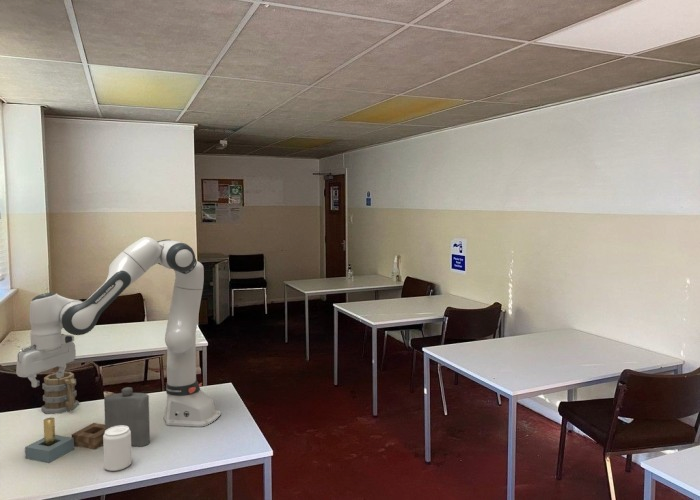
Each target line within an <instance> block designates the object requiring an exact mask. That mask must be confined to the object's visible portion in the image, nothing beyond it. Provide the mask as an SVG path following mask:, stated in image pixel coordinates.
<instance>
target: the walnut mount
mask: <svg viewBox="0 0 700 500" xmlns="http://www.w3.org/2000/svg"><path fill="white" fill-rule="evenodd" d="M104 434H105V423H104V424H102V423H97V422H92V423H91V424H89V425H87V426H85V427H83V428H81V429H79V430H78V431H75V432H73V433H72V434H71V438H74V447H80V448H86V449H92V450H97V449H98V448H100V447H101V446H103V435H104Z"/></svg>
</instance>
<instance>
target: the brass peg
mask: <svg viewBox="0 0 700 500" xmlns="http://www.w3.org/2000/svg"><path fill="white" fill-rule="evenodd" d="M55 435H56V423H55V417H47V418H45V419H43V438H44V445H45V446H51V445H53V444H55Z"/></svg>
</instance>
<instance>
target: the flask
mask: <svg viewBox="0 0 700 500" xmlns="http://www.w3.org/2000/svg"><path fill="white" fill-rule="evenodd" d="M133 391H134V390H133V387H131V386H130V387H129V386H126V387H123V388H122V389H121V392H119V393H112V394H107V395H106V396H104V397H103V399H104V400H103V402H104V406H103V407H104V424H105V431H106V430H107V429H108V428H111V427H114V426H119V425H124V426H128V427H129V429H130V431H131V447H139V448H140V447H145V446H147V445H149V444H150V443H151V436H150V435H151V433H150V399H149V398H150V397H149V396H150V395H149V394H148V393H144V392H133Z"/></svg>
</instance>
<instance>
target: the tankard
mask: <svg viewBox="0 0 700 500" xmlns="http://www.w3.org/2000/svg"><path fill="white" fill-rule="evenodd" d="M56 373H57V372H54V373H50V374H47V375H46V376H45V377H43V383H42V390H44V394H43V395H42V401H43V402H44V405H42V406H41V412H43V413H44V414H46V415H53V414H54V415H56V414H55V413H60V414H62V413H63V414H64V413H66V411H67V412H69V411H70V412H71V411H74V409H76V408H77V407H78V406H79V405H80V401H78V400H76V397H77V395H78V394H77V389H76V387H75V386H76V385H77V378H75V373H73V372H71V371H64V377H61V378H57V377H56Z"/></svg>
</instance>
